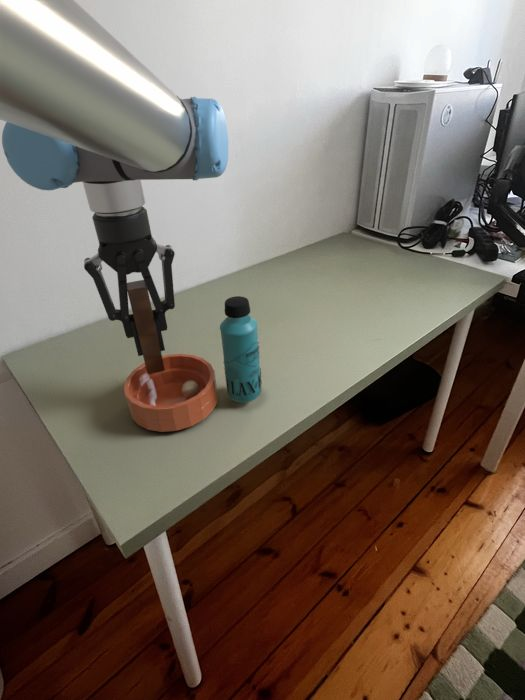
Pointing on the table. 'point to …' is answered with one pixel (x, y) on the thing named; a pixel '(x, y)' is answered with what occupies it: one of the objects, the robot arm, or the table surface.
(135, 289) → the stick
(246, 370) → the beverage bottle
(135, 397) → the bowl
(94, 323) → the table surface
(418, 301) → the table surface
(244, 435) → the table surface
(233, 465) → the table surface
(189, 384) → the bead
